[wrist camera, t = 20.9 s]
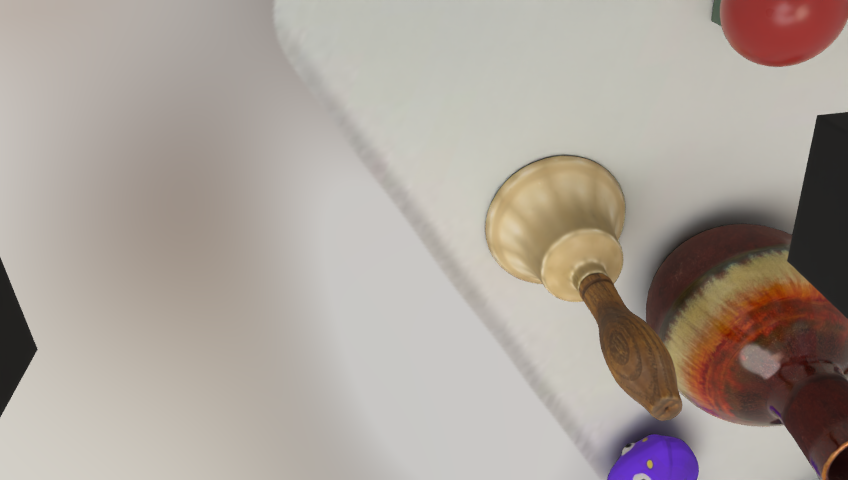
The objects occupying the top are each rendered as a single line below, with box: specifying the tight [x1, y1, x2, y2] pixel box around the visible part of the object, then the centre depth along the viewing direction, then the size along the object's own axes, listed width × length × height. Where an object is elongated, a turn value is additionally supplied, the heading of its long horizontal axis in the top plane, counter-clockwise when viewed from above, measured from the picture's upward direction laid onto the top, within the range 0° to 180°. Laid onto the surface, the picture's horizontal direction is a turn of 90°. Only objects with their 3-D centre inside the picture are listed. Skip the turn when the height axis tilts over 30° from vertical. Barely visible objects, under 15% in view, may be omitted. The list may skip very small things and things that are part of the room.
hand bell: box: [485, 156, 682, 421], centre depth 36 cm, size 8×8×16 cm
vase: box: [646, 224, 848, 480], centre depth 40 cm, size 11×11×15 cm
